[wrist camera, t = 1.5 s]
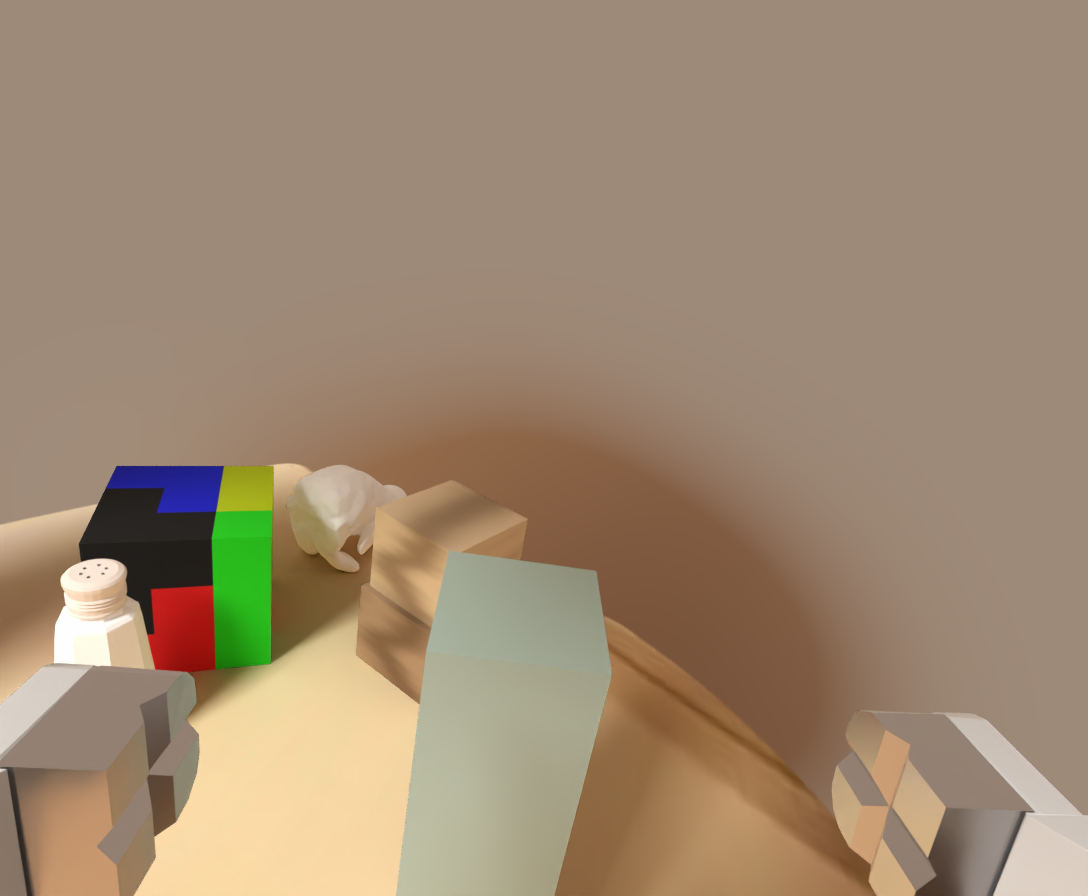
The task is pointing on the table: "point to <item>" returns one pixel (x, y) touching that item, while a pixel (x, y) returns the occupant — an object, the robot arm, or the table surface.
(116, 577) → the pepper shaker
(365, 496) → the white animal figurine
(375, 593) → the tower bottom
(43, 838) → the robot arm
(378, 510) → the tower top
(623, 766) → the table surface
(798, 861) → the table surface
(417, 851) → the pillar
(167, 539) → the puzzle toy
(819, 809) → the table surface
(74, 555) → the table surface
